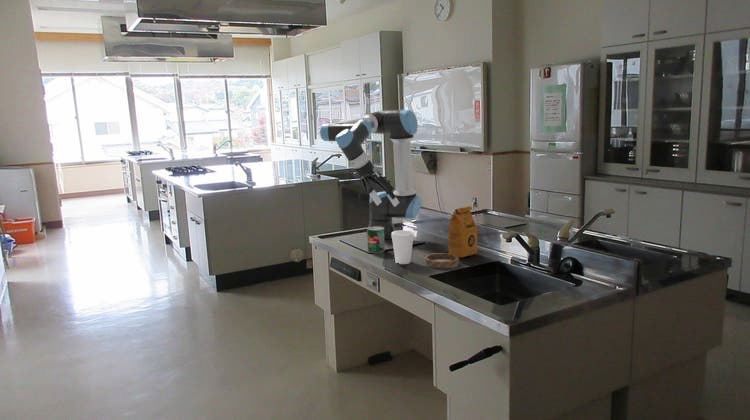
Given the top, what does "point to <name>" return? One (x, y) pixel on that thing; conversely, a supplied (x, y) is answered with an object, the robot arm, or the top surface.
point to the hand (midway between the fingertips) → (388, 204)
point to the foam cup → (402, 245)
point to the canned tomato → (376, 239)
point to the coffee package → (462, 233)
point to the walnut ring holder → (441, 260)
